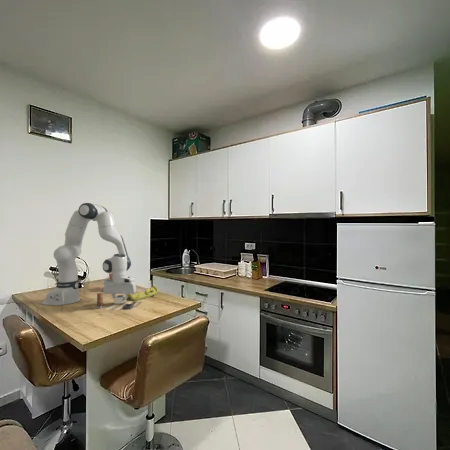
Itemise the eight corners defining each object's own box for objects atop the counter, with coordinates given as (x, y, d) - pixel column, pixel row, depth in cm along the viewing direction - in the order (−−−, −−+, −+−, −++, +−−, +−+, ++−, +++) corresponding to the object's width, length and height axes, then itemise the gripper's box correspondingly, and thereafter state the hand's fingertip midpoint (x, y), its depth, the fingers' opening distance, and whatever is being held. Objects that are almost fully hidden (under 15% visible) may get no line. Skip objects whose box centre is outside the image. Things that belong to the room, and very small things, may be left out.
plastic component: (134, 300, 165) (127, 291, 171) (133, 308, 168) (126, 299, 173) (160, 291, 179) (153, 283, 185) (158, 299, 182) (151, 291, 188)
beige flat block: (104, 311, 149) (103, 307, 149) (116, 303, 165) (116, 299, 165) (133, 311, 149) (133, 307, 149) (142, 303, 165) (142, 299, 165)
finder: (121, 303, 158) (121, 297, 158) (114, 303, 158) (113, 297, 158) (125, 300, 164) (125, 294, 164) (118, 300, 164) (118, 294, 164)
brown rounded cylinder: (96, 310, 150) (96, 294, 150) (98, 309, 154) (98, 293, 154) (101, 310, 150) (101, 294, 150) (103, 309, 154) (103, 293, 154)
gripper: (101, 280, 158) (101, 301, 158) (133, 280, 157) (133, 301, 157) (106, 277, 164) (106, 298, 164) (137, 277, 164) (137, 298, 164)
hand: (120, 300), depth 161 cm, fingers closed on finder, 5 cm apart
